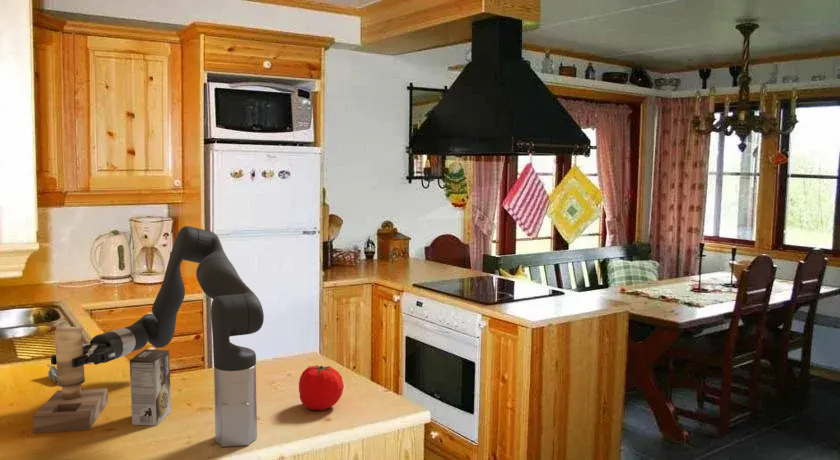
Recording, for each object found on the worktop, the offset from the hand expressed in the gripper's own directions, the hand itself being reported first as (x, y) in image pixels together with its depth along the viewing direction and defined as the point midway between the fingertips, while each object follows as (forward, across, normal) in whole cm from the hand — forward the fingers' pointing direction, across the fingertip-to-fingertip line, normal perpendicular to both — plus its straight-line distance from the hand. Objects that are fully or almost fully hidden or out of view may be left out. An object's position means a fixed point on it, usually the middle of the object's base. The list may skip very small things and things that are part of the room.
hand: (62, 362), depth 171 cm
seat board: (0, +3, +14) cm, 14 cm away
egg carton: (-22, -22, +14) cm, 35 cm away
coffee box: (-6, +21, +14) cm, 26 cm away
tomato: (-27, +56, +14) cm, 64 cm away
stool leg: (-2, 0, +10) cm, 10 cm away
